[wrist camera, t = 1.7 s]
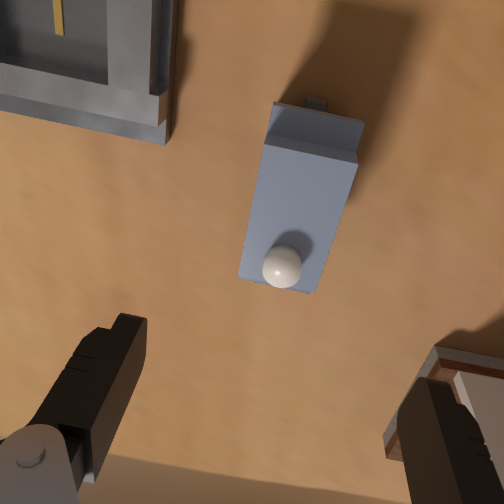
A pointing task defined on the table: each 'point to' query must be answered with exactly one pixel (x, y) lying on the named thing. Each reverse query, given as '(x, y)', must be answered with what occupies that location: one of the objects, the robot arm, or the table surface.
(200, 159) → the table surface
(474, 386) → the white alcove tower
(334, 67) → the table surface
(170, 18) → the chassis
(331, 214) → the servo
